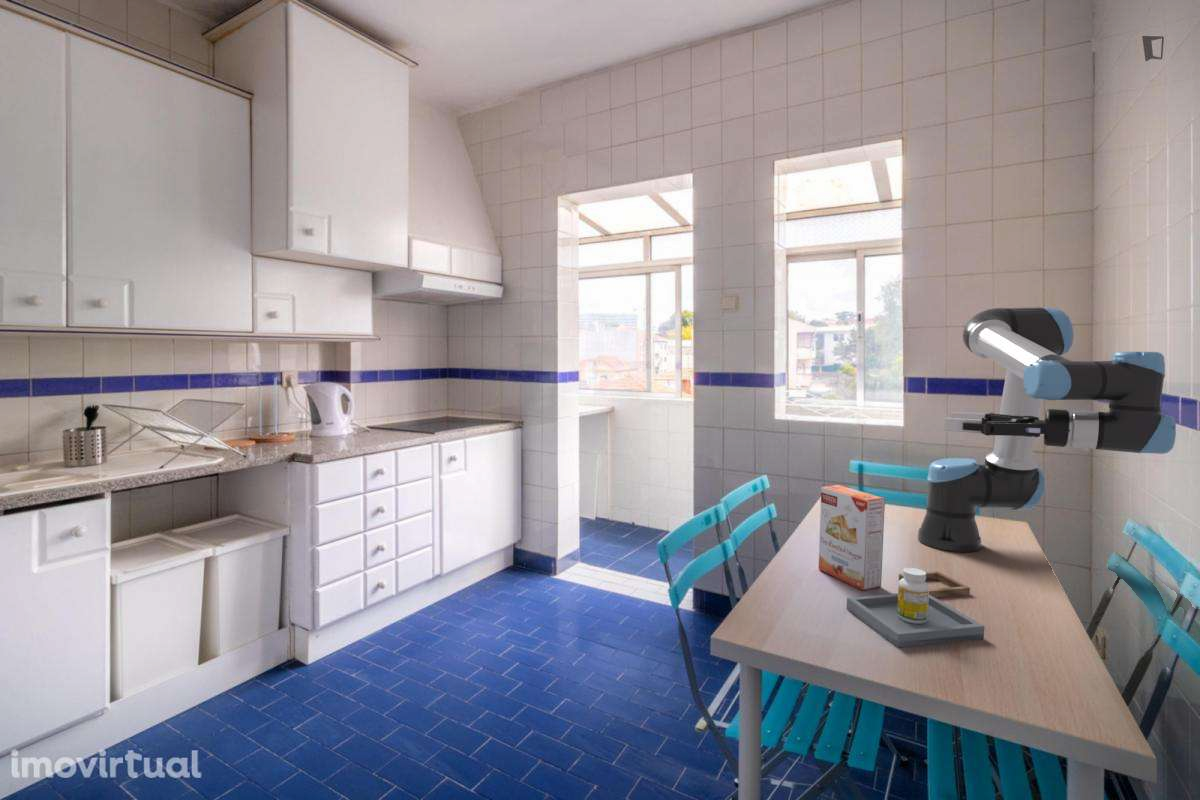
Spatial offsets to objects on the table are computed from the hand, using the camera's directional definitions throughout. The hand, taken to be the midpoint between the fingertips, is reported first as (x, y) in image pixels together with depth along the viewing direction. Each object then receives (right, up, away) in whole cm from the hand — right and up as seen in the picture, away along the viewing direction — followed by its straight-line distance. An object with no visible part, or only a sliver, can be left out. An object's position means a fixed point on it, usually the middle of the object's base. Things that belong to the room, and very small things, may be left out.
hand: (947, 420), depth 133 cm
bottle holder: (-2, -38, +3) cm, 38 cm away
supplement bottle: (-16, -39, -15) cm, 44 cm away
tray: (-16, -39, -15) cm, 45 cm away
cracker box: (-19, -38, +8) cm, 43 cm away
